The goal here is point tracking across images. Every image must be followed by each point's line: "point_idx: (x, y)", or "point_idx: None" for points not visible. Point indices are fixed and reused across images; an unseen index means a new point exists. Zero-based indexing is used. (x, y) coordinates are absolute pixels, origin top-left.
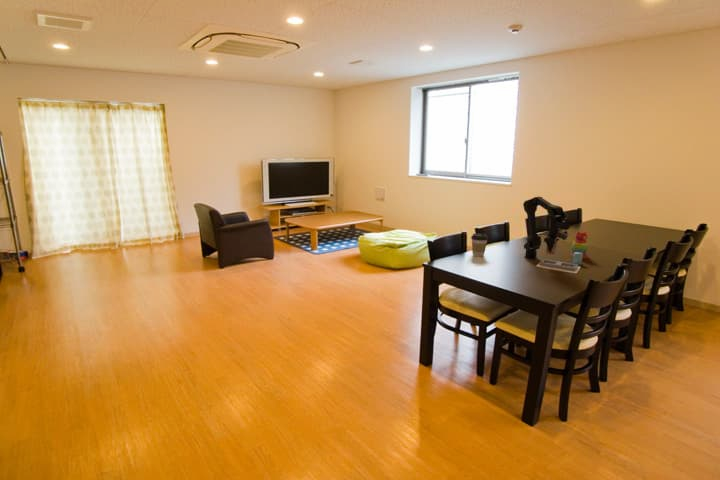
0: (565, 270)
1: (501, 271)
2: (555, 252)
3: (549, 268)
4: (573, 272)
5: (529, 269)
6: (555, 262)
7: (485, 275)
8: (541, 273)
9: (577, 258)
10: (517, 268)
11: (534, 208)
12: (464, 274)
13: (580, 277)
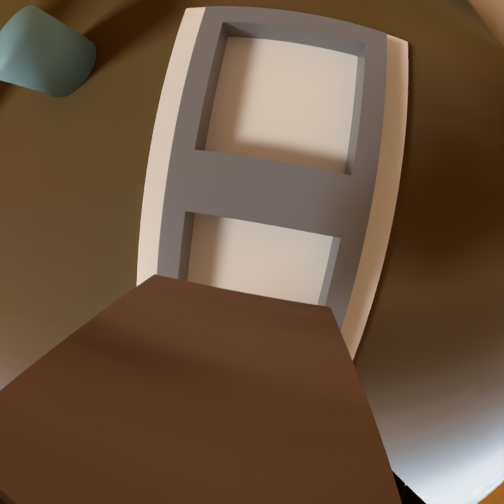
0: (397, 123)
1: (464, 467)
2: (232, 301)
3: (376, 279)
4: (406, 62)
5: (428, 403)
6: (185, 231)
7: (499, 468)
8: (497, 320)
9: (61, 40)
10: (416, 450)
11: None
12: (482, 495)
13: (473, 47)
